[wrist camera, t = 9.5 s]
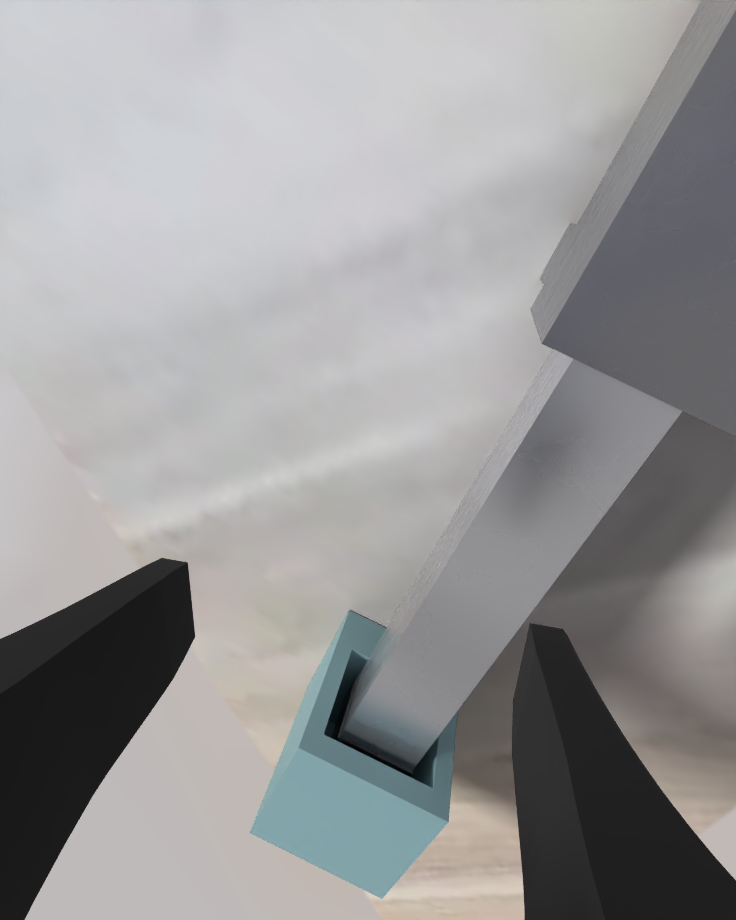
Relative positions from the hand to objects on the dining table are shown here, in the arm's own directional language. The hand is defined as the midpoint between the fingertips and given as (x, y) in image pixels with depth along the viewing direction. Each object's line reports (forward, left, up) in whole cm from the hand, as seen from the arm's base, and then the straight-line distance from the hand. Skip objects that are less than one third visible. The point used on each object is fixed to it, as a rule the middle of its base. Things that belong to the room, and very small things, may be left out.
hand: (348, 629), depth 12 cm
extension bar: (-3, 0, -6) cm, 7 cm away
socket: (-3, +10, -9) cm, 13 cm away
